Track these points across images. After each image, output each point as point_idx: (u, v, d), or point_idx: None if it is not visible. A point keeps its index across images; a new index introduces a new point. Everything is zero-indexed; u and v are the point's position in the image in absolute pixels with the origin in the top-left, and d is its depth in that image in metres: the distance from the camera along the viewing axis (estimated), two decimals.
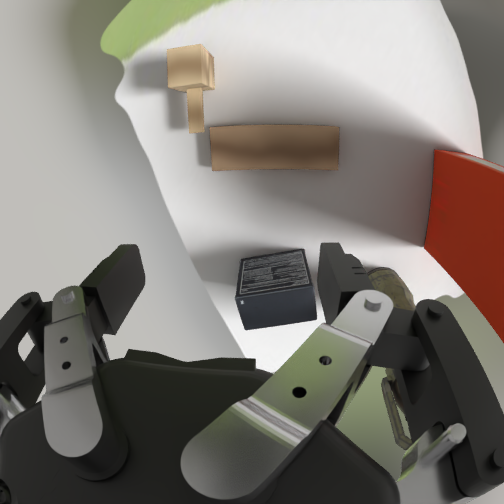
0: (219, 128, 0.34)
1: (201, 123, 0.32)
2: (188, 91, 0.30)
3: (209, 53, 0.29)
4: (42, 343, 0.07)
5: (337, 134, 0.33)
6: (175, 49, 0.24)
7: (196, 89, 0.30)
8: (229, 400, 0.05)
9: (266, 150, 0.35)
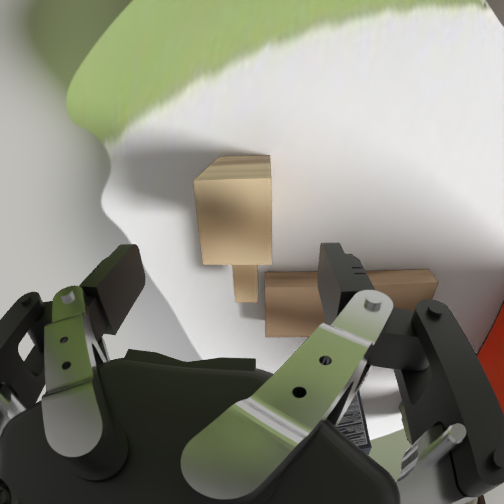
0: (280, 289, 0.24)
1: (255, 290, 0.22)
2: None
3: None
4: (42, 343, 0.07)
5: (433, 290, 0.23)
6: (214, 184, 0.14)
7: None
8: (229, 400, 0.05)
9: None
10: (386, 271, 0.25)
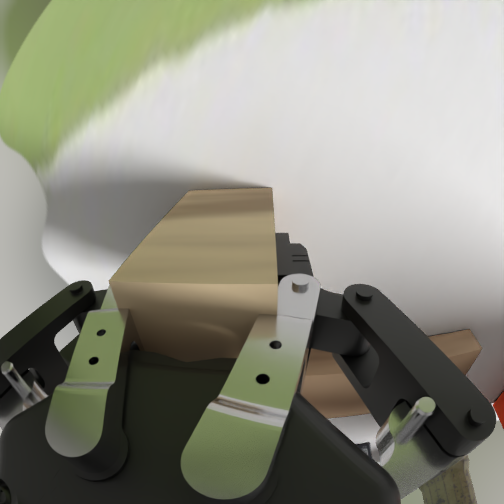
0: None
1: None
2: None
3: (273, 208, 0.10)
4: None
5: (474, 358, 0.15)
6: (149, 291, 0.06)
7: None
8: None
9: None
10: None
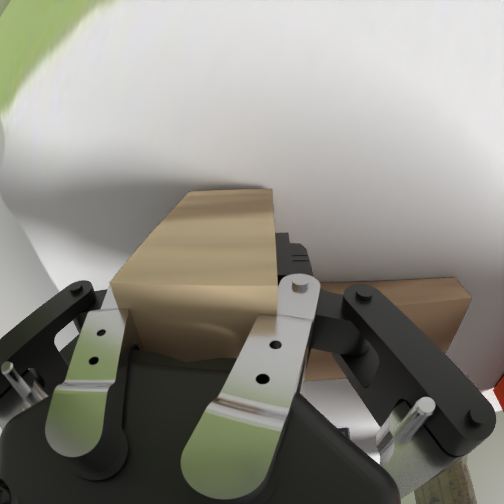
0: None
1: None
2: None
3: None
4: None
5: (463, 311, 0.13)
6: (149, 292, 0.06)
7: None
8: None
9: (320, 355, 0.15)
10: (392, 282, 0.15)
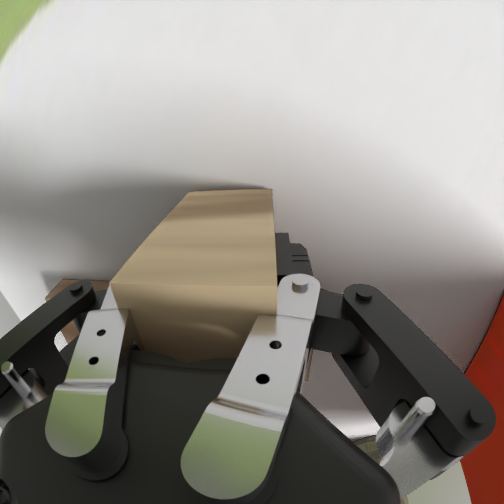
0: None
1: None
2: None
3: (272, 209, 0.10)
4: None
5: None
6: (149, 292, 0.06)
7: None
8: None
9: None
10: None
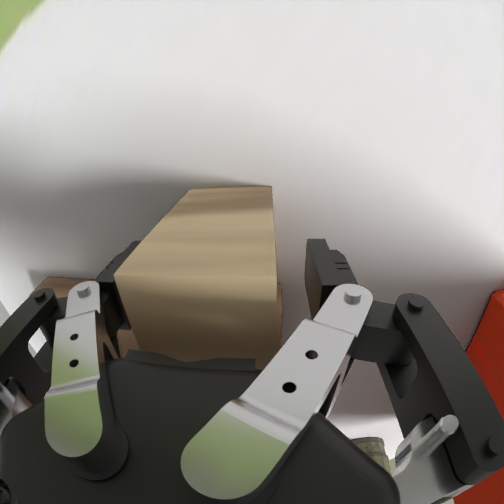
0: None
1: None
2: None
3: (272, 205, 0.11)
4: None
5: (277, 326, 0.14)
6: (152, 283, 0.06)
7: None
8: (229, 400, 0.05)
9: (125, 347, 0.16)
10: None
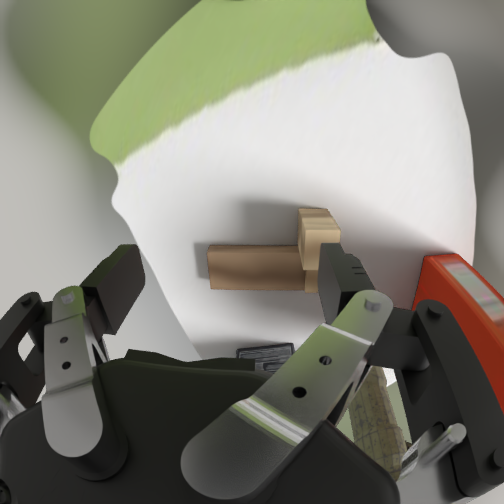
0: (216, 254, 0.38)
1: (317, 285, 0.38)
2: None
3: (331, 216, 0.35)
4: (42, 343, 0.07)
5: None
6: (315, 232, 0.30)
7: None
8: (229, 400, 0.05)
9: (260, 275, 0.39)
10: (292, 246, 0.40)
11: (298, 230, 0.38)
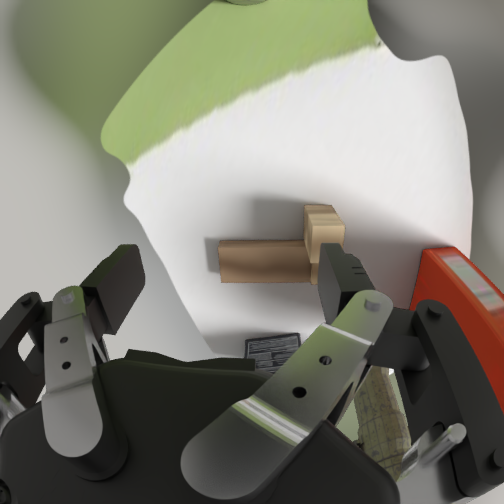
0: (227, 249, 0.41)
1: None
2: None
3: (335, 212, 0.37)
4: (42, 343, 0.07)
5: None
6: (321, 227, 0.32)
7: None
8: (229, 400, 0.05)
9: (269, 268, 0.42)
10: (298, 240, 0.42)
11: (304, 225, 0.40)
